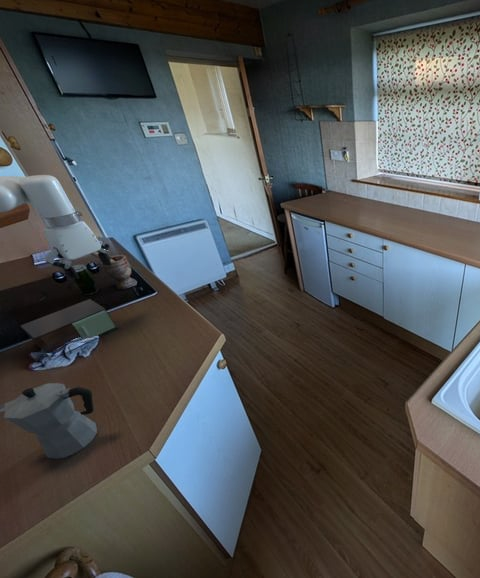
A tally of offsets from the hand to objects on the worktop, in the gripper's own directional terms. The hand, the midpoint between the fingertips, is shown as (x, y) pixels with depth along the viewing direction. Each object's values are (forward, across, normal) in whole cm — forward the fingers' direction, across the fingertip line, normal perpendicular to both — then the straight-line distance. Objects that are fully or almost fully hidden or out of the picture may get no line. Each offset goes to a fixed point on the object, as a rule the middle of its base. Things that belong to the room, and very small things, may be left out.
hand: (92, 271), depth 95 cm
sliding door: (+21, +7, -2) cm, 23 cm away
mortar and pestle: (+23, -20, -28) cm, 41 cm away
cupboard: (+22, +9, -9) cm, 26 cm away
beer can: (+22, -13, -36) cm, 44 cm away
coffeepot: (+23, +36, +33) cm, 54 cm away
